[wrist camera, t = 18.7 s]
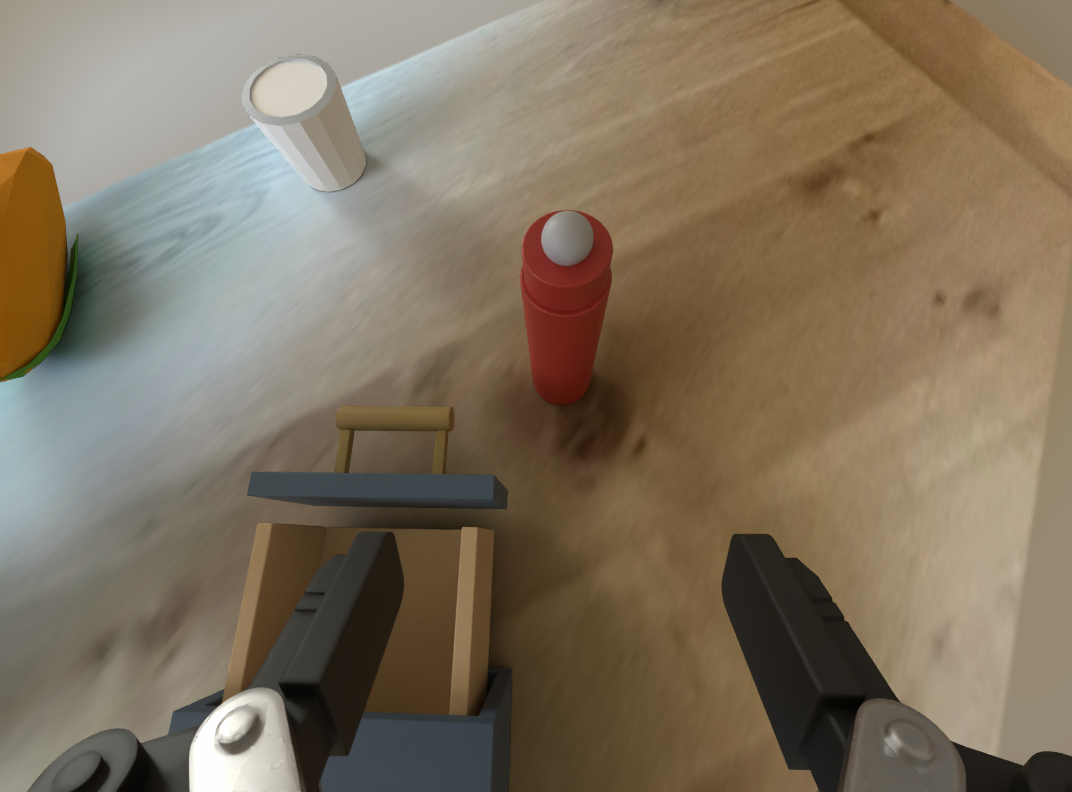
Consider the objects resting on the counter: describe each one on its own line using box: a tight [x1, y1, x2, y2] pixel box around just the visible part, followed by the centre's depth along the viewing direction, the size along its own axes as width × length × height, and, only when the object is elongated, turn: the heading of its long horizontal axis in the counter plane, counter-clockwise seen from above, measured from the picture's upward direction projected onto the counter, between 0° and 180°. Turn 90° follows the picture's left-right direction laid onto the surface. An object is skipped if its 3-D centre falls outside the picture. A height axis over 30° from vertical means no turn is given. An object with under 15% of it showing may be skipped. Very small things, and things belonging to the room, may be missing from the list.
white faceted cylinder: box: [242, 54, 366, 192], centre depth 35 cm, size 7×7×7 cm
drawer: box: [222, 406, 508, 716], centre depth 24 cm, size 19×12×7 cm, turn 179°
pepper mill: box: [520, 210, 613, 405], centre depth 24 cm, size 4×4×16 cm
